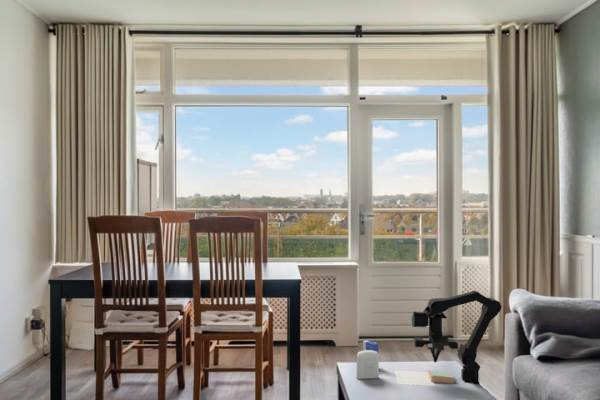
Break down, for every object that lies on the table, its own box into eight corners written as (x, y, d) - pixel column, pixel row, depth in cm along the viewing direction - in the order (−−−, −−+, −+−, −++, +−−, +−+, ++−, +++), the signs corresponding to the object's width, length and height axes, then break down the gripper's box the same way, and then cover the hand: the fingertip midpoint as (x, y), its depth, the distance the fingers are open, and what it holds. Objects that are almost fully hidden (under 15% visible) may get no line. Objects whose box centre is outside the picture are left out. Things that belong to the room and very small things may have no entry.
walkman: (378, 367, 215) (378, 343, 215) (374, 369, 213) (374, 344, 214) (366, 363, 221) (366, 339, 221) (362, 364, 219) (362, 340, 220)
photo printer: (377, 375, 205) (377, 348, 206) (379, 378, 201) (380, 351, 201) (355, 376, 204) (355, 349, 204) (357, 379, 200) (358, 352, 200)
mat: (429, 373, 208) (429, 372, 208) (435, 387, 192) (435, 385, 192) (394, 371, 210) (394, 370, 210) (398, 385, 194) (398, 383, 194)
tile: (428, 375, 204) (450, 378, 203) (431, 381, 197) (454, 384, 196) (428, 369, 204) (450, 372, 203) (431, 375, 197) (454, 377, 196)
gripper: (417, 331, 194) (416, 367, 193) (461, 333, 192) (460, 369, 191) (413, 324, 205) (413, 358, 204) (455, 326, 203) (454, 360, 202)
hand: (435, 362), depth 200 cm, fingers closed
